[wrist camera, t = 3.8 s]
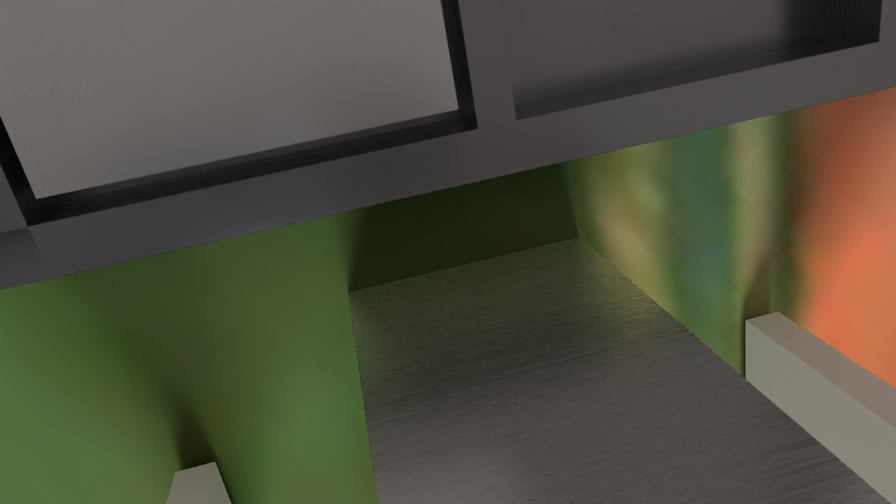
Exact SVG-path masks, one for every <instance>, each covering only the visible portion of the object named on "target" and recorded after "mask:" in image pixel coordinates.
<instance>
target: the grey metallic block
mask: <svg viewBox="0 0 896 504" xmlns="http://www.w3.org/2000/svg"><path fill="white" fill-rule="evenodd" d="M348 296H349V303H350V310H351V317H352V324H353V331H354V338H355V345H356V352H357V359H358V366H359V373H360V380H361V387H362V394H363V401H364V408H365V415H366V422H367V429H368V436H369V443H370V450H371V457H372V464H373V471H374V478H375V485H376V492H377V499H378V504H891V503H890V502H889V501H888V500H887V499H886V498H884V497H883V496H882V495H881V494H880V493H879V492H877V491H876V490H875V489H874V488H873V487H871V486H870V485H869V484H868V483H867V482H866V481H864V480H863V479H862V478H861V477H860V476H859V475H857V474H856V473H855V472H854V471H853V470H852V469H850V468H849V467H848V466H847V465H846V464H845V463H843V462H842V461H841V460H840V459H839V458H838V457H836V456H835V455H834V454H833V453H832V452H830V451H829V450H828V449H827V448H826V447H825V446H823V445H822V444H821V443H820V442H819V441H818V440H816V439H815V438H814V437H813V436H812V435H811V434H809V433H808V432H807V431H806V430H805V429H804V428H802V427H801V426H800V425H799V424H798V423H797V422H795V421H794V420H793V419H792V418H791V417H789V416H788V415H787V414H786V413H785V412H784V411H782V410H781V409H780V408H779V407H778V406H777V405H775V404H774V403H773V402H772V401H771V400H770V399H768V398H767V397H766V396H765V395H764V394H763V393H761V392H760V391H759V390H758V389H757V388H756V387H754V386H753V385H752V384H751V383H750V382H748V381H747V380H746V379H745V378H744V377H743V376H741V375H740V374H739V373H738V372H737V371H736V370H734V369H733V368H732V367H731V366H730V365H729V364H727V363H726V362H725V361H724V360H723V359H722V358H720V357H719V356H718V355H717V354H716V353H715V352H713V351H712V350H711V349H710V348H709V347H707V346H706V345H705V344H704V343H703V342H702V341H700V340H699V339H698V338H697V337H696V336H695V335H693V334H692V333H691V332H690V331H689V330H688V329H686V328H685V327H684V326H683V325H682V324H681V323H679V322H678V321H677V320H676V319H675V318H674V317H672V316H671V315H670V314H669V313H668V312H666V311H665V310H664V309H663V308H662V307H661V306H659V305H658V304H657V303H656V302H655V301H654V300H652V299H651V298H650V297H649V296H648V295H647V294H645V293H644V292H643V291H642V290H641V289H640V288H638V287H637V286H636V285H635V284H634V283H633V282H631V281H630V280H629V279H628V278H627V277H625V276H624V275H623V274H622V273H621V272H620V271H618V270H617V269H616V268H615V267H614V266H613V265H611V264H610V263H609V262H608V261H607V260H606V259H604V258H603V257H602V256H601V255H600V254H599V253H597V252H596V251H595V250H594V249H593V248H592V247H590V246H589V245H588V244H587V243H586V242H584V241H583V240H582V239H581V238H580V237H576V238H572V239H568V240H564V241H560V242H556V243H552V244H547V245H543V246H539V247H535V248H531V249H527V250H523V251H518V252H514V253H510V254H506V255H502V256H498V257H494V258H489V259H485V260H481V261H477V262H473V263H469V264H465V265H461V266H456V267H452V268H448V269H444V270H440V271H436V272H432V273H427V274H423V275H419V276H415V277H411V278H407V279H403V280H398V281H394V282H390V283H386V284H382V285H378V286H374V287H370V288H365V289H361V290H357V291H353V292H349V293H348Z"/></svg>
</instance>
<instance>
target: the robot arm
mask: <svg viewBox="0 0 896 504" xmlns="http://www.w3.org/2000/svg"><path fill="white" fill-rule="evenodd" d="M746 380H747V381H748V382H750V383H751V384H752V385H753V386H754V387H756V388H757V389H758V390H759V391H760V392H761V393H763V394H764V395H765V396H766V397H767V398H768V399H770V400H771V401H772V402H773V403H774V404H775V405H777V406H778V407H779V408H780V409H781V410H782V411H784V412H785V413H786V414H787V415H788V416H789V417H791V418H792V419H793V420H794V421H795V422H797V423H798V424H799V425H800V426H801V427H802V428H804V429H805V430H806V431H807V432H808V433H809V434H811V435H812V436H813V437H814V438H815V439H816V440H818V441H819V442H820V443H821V444H822V445H823V446H825V447H826V448H827V449H828V450H829V451H830V452H832V453H833V454H834V455H835V456H836V457H838V458H839V459H840V460H841V461H842V462H843V463H845V464H846V465H847V466H848V467H849V468H850V469H852V470H853V471H854V472H855V473H856V474H857V475H859V476H860V477H861V478H862V479H863V480H864V481H866V482H867V483H868V484H869V485H870V486H871V487H873V488H874V489H875V490H876V491H877V492H879V493H880V494H881V495H882V496H883V497H884V498H886V499H887V500H888V501H889V502H890V503H891V504H896V389H895V388H894V387H892V386H891V385H889V384H888V383H886V382H885V381H883V380H882V379H880V378H879V377H877V376H876V375H874V374H873V373H871V372H870V371H868V370H866V369H865V368H863V367H862V366H860V365H859V364H857V363H856V362H854V361H853V360H851V359H850V358H848V357H847V356H845V355H844V354H842V353H841V352H839V351H838V350H836V349H834V348H833V347H831V346H830V345H828V344H827V343H825V342H824V341H822V340H821V339H819V338H818V337H816V336H815V335H813V334H812V333H810V332H809V331H807V330H806V329H804V328H802V327H801V326H799V325H798V324H796V323H795V322H793V321H792V320H790V319H789V318H787V317H786V316H784V315H783V314H781V313H780V312H775V313H771V314H767V315H763V316H759V317H756V318H752V319H748V320H746ZM166 504H231V501H230V499H229V496H228V494H227V491H226V488H225V486H224V483H223V481H222V478H221V475H220V473H219V470H218V468H217V465H216V463H215V462H212V463H208V464H204V465H201V466H197V467H193V468H189V469H186V470H182V471H178V472H175V474H174V478H173V481H172V485H171V488H170V492H169V495H168V499H167V503H166Z"/></svg>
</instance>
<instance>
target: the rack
mask: <svg viewBox="0 0 896 504" xmlns="http://www.w3.org/2000/svg"><path fill="white" fill-rule="evenodd" d="M891 87H896V0H0V290H2V289H6V288H11V287H15V286H19V285H24V284H28V283H33V282H37V281H41V280H46V279H50V278H55V277H59V276H63V275H68V274H72V273H77V272H81V271H85V270H90V269H94V268H99V267H103V266H108V265H112V264H116V263H121V262H125V261H130V260H134V259H138V258H143V257H147V256H152V255H156V254H160V253H165V252H169V251H174V250H178V249H182V248H187V247H191V246H196V245H200V244H204V243H209V242H213V241H218V240H222V239H226V238H231V237H235V236H240V235H244V234H248V233H253V232H257V231H262V230H266V229H270V228H275V227H279V226H284V225H288V224H292V223H297V222H301V221H306V220H310V219H314V218H319V217H323V216H328V215H332V214H336V213H341V212H345V211H350V210H354V209H358V208H363V207H367V206H372V205H376V204H380V203H385V202H389V201H394V200H398V199H402V198H407V197H411V196H416V195H420V194H425V193H429V192H433V191H438V190H442V189H447V188H451V187H455V186H460V185H464V184H469V183H473V182H477V181H482V180H486V179H491V178H495V177H499V176H504V175H508V174H513V173H517V172H521V171H526V170H530V169H535V168H539V167H543V166H548V165H552V164H557V163H561V162H565V161H570V160H574V159H579V158H583V157H587V156H592V155H596V154H601V153H605V152H609V151H614V150H618V149H623V148H627V147H631V146H636V145H640V144H645V143H649V142H653V141H658V140H662V139H667V138H671V137H675V136H680V135H684V134H689V133H693V132H697V131H702V130H706V129H711V128H715V127H720V126H724V125H728V124H733V123H737V122H742V121H746V120H750V119H755V118H759V117H764V116H768V115H772V114H777V113H781V112H786V111H790V110H794V109H799V108H803V107H808V106H812V105H816V104H821V103H825V102H830V101H834V100H838V99H843V98H847V97H852V96H856V95H860V94H865V93H869V92H874V91H878V90H882V89H887V88H891Z"/></svg>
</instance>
